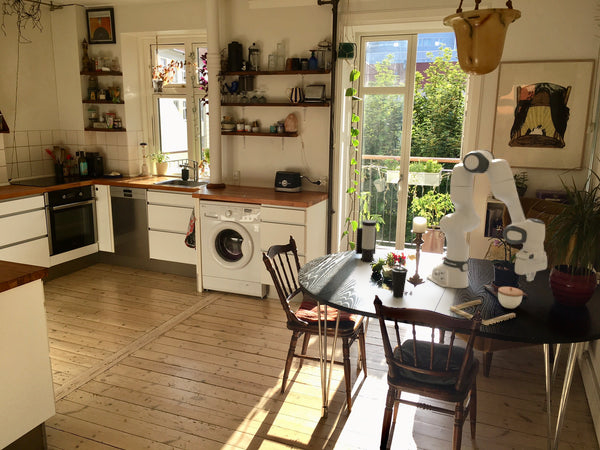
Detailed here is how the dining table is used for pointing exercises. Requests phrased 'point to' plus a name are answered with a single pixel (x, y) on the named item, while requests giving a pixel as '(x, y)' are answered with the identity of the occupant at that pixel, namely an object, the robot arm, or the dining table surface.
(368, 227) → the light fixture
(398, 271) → the drinking cup
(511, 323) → the dining table surface
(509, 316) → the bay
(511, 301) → the lidded jar
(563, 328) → the dining table surface
